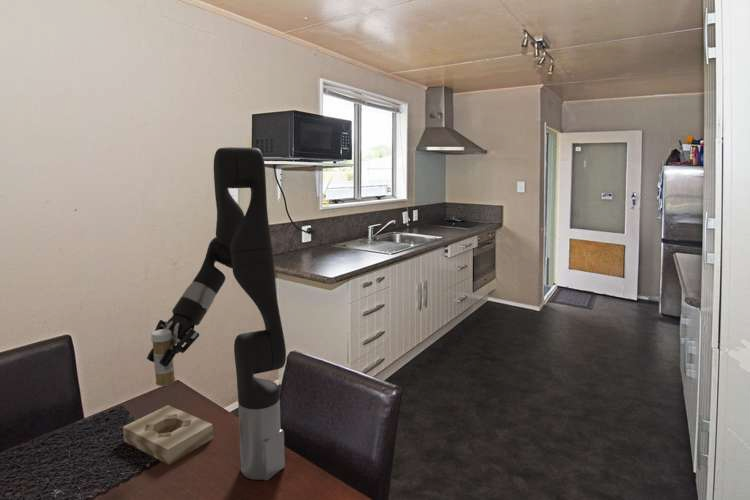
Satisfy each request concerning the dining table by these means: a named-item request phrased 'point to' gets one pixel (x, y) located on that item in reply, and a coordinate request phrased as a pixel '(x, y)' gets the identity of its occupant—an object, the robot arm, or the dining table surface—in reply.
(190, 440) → the spice caddy
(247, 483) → the dining table surface
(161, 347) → the sprinkles bottle
